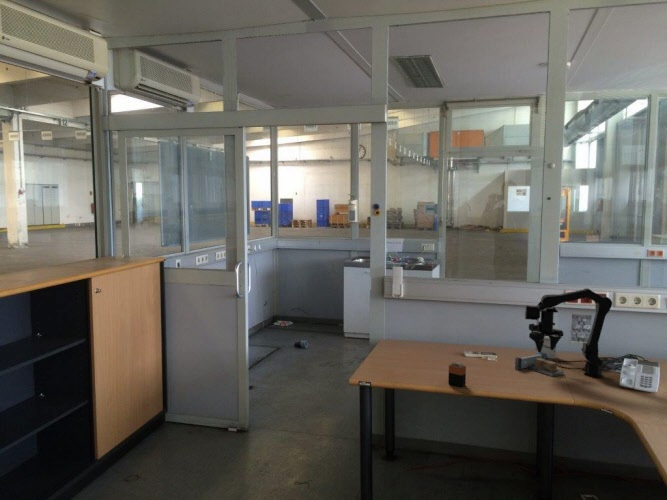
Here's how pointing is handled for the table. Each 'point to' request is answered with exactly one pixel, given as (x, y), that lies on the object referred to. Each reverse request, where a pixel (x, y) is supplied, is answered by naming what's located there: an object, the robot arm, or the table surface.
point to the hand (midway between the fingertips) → (545, 351)
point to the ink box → (547, 348)
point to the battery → (457, 374)
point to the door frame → (518, 361)
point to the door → (529, 360)
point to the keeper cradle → (552, 374)
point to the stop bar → (545, 365)
